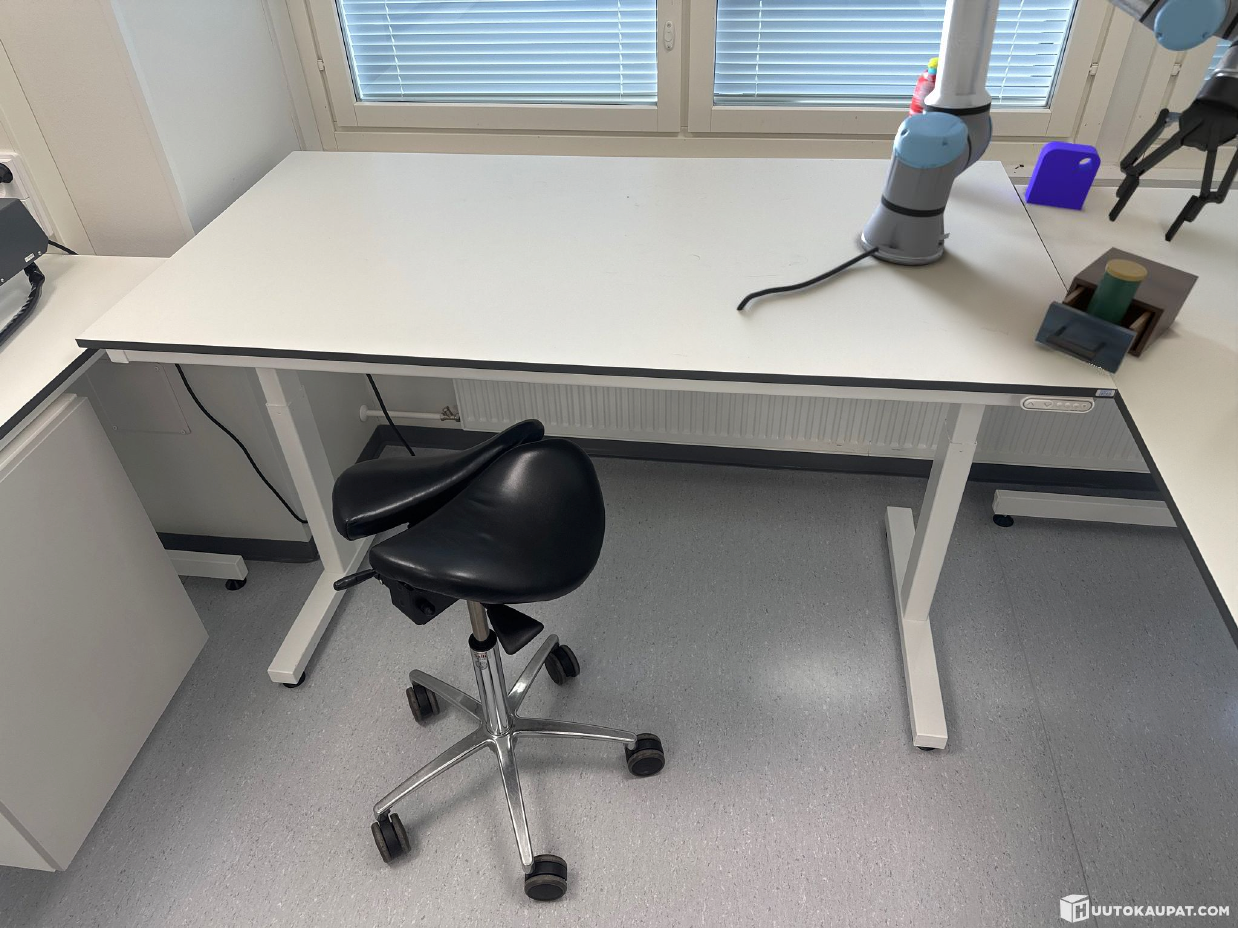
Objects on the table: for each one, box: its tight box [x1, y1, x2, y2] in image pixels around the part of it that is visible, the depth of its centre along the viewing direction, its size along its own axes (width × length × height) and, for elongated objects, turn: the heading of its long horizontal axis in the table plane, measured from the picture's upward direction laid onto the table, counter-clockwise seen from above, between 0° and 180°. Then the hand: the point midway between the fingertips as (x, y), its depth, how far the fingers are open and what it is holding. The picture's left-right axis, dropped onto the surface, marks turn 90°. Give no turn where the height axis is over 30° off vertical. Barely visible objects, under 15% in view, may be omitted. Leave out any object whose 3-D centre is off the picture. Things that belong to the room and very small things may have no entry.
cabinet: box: [1064, 246, 1200, 359], centre depth 132 cm, size 16×14×9 cm
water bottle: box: [908, 57, 939, 118], centre depth 173 cm, size 12×8×25 cm, turn 176°
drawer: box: [1034, 285, 1156, 375], centre depth 126 cm, size 20×13×7 cm, turn 134°
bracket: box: [1024, 140, 1102, 211], centre depth 173 cm, size 18×11×12 cm, turn 163°
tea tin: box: [1085, 259, 1147, 326], centre depth 124 cm, size 6×6×12 cm
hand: (1139, 228), depth 124 cm, fingers open, 8 cm apart
